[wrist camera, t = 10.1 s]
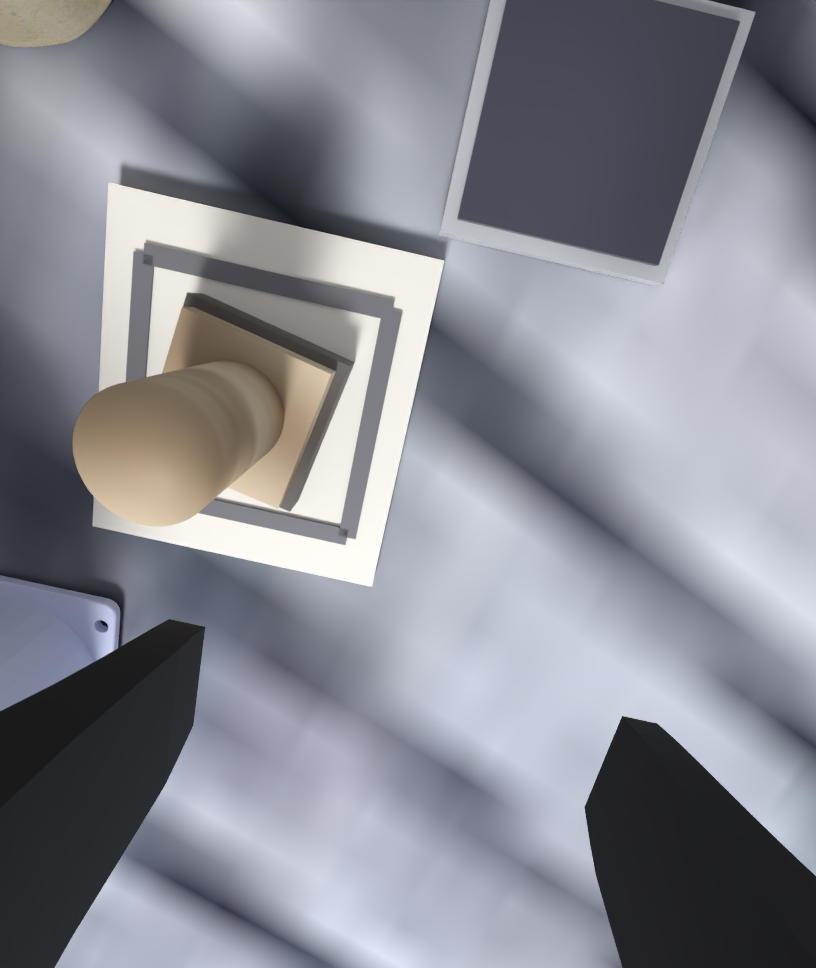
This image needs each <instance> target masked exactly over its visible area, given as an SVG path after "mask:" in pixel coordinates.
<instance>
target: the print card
mask: <svg viewBox="0 0 816 968" xmlns="http://www.w3.org/2000/svg"><path fill="white" fill-rule="evenodd" d="M443 265H444V260H440V259H435V258H431V257H427V256H422V255H418V254H414V253H410V252H405V251H401V250H397V249H392V248H388V247H384V246H380V245H375V244H371V243H367V242H362V241H358V240H354V239H349V238H345V237H341V236H337V235H332V234H328V233H324V232H319V231H315V230H311V229H306V228H302V227H298V226H294V225H289V224H285V223H281V222H276V221H272V220H268V219H264V218H259V217H255V216H251V215H246V214H242V213H238V212H233V211H229V210H225V209H221V208H216V207H212V206H208V205H203V204H199V203H195V202H191V201H186V200H182V199H178V198H173V197H169V196H165V195H160V194H156V193H152V192H148V191H143V190H139V189H135V188H130V187H126V186H122V185H118V184H113V183H109V182H108V203H107V225H106V246H105V268H104V289H103V311H102V332H101V354H100V375H99V392H100V391H102V390H104V389H106V388H108V387H110V386H113V385H116V384H119V383H124V382H128V381H132V380H136V379H141V378H145V377H149V376H154V375H158V374H162V371H163V368H164V365H165V361H166V358H167V355H168V351H169V348H170V345H171V341H172V338H173V335H174V331H175V328H176V325H177V321H178V318H179V315H180V312H181V308H182V307H183V304H184V301H185V298H186V294H187V292H189V293H202V294H206V295H208V296H210V297H212V298H215V299H217V300H219V301H221V302H223V303H226V304H228V305H230V306H232V307H234V308H237V309H239V310H241V311H243V312H245V313H248V314H250V315H252V316H254V317H256V318H258V319H261V320H263V321H265V322H267V323H269V324H272V325H274V326H276V327H278V328H280V329H283V330H285V331H287V332H289V333H291V334H294V335H296V336H298V337H300V338H302V339H305V340H307V341H309V342H311V343H313V344H316V345H318V346H320V347H322V348H324V349H327V350H329V351H331V352H333V353H335V354H338V355H340V356H342V357H344V358H346V359H349V360H351V361H353V362H355V363H354V366H353V368H352V371H351V373H350V375H349V378H348V380H347V383H346V385H345V388H344V390H343V393H342V395H341V398H340V400H339V402H338V405H337V407H336V410H335V412H334V415H333V417H332V420H331V422H330V424H329V427H328V429H327V432H326V434H325V437H324V439H323V442H322V444H321V447H320V449H319V451H318V454H317V456H316V459H315V461H314V464H313V466H312V469H311V471H310V474H309V476H308V478H307V481H306V483H305V486H304V488H303V491H302V493H301V496H300V498H299V500H298V502H297V503H296V504H295V506H294V507H293V509H292V510H291V511H290V512H289V511H287V510H284V509H282V508H280V507H279V508H278V509H277V508H275V507H272V506H270V505H268V504H265V503H263V502H261V501H258V500H256V499H254V498H251V497H249V496H247V495H244V494H242V493H240V492H237V491H235V490H233V489H230V488H226V489H225V490H224V491H223V492H222V493H221V494H219V495H218V496H217V497H216V498H215V499H214V500H212V501H211V502H210V503H209V504H208V505H207V506H206V507H204V508H203V509H202V510H201V511H200V512H199V513H197V514H196V515H195V516H193V517H191V518H190V519H188V520H186V521H183V522H181V523H178V524H174V525H169V526H145V525H141V524H136V523H133V522H131V521H128V520H125V519H123V518H121V517H119V516H117V515H116V514H114V513H113V512H111V511H109V510H108V509H107V508H106V507H104V506H103V505H102V504H101V503H100V502H99V501H98V500H97V499H96V498H95V497H94V504H93V526H94V527H99V528H104V529H108V530H113V531H117V532H122V533H127V534H131V535H136V536H140V537H145V538H150V539H154V540H159V541H163V542H168V543H173V544H177V545H182V546H186V547H191V548H196V549H200V550H205V551H209V552H214V553H219V554H223V555H228V556H232V557H237V558H242V559H246V560H251V561H255V562H260V563H265V564H269V565H274V566H278V567H283V568H288V569H292V570H297V571H301V572H306V573H311V574H315V575H320V576H324V577H329V578H334V579H338V580H343V581H347V582H352V583H357V584H361V585H366V586H370V587H372V583H373V579H374V574H375V570H376V565H377V561H378V557H379V552H380V548H381V543H382V539H383V534H384V530H385V525H386V521H387V516H388V512H389V507H390V503H391V498H392V494H393V489H394V485H395V480H396V476H397V471H398V467H399V462H400V458H401V453H402V449H403V444H404V440H405V435H406V431H407V426H408V422H409V417H410V413H411V408H412V404H413V399H414V395H415V390H416V386H417V381H418V377H419V372H420V368H421V363H422V359H423V354H424V350H425V345H426V341H427V336H428V332H429V327H430V323H431V318H432V314H433V309H434V305H435V301H436V296H437V292H438V287H439V283H440V278H441V274H442V269H443Z"/></svg>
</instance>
